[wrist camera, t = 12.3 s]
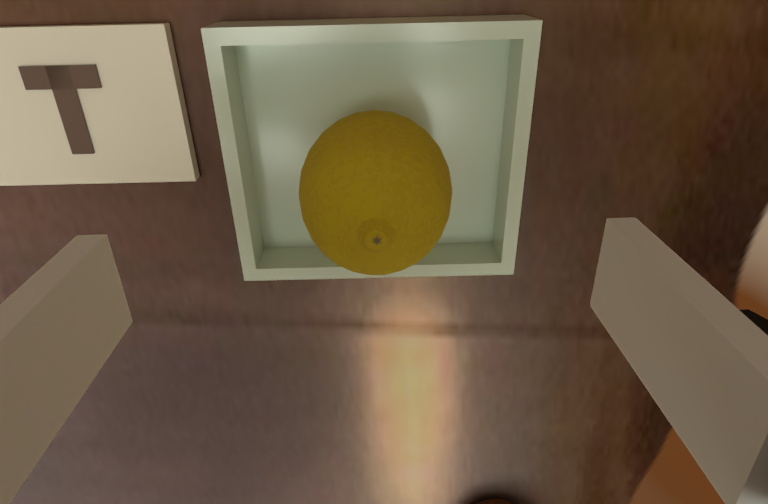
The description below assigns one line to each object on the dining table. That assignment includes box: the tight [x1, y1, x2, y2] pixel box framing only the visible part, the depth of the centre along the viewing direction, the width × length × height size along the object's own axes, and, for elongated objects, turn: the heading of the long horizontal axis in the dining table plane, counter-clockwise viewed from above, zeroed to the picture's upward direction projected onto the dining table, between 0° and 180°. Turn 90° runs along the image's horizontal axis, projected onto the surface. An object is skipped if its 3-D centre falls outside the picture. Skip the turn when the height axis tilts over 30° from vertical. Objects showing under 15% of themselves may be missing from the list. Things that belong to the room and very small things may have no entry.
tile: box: [0, 23, 200, 186], centre depth 22 cm, size 14×6×1 cm, turn 91°
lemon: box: [299, 110, 452, 275], centre depth 19 cm, size 6×6×8 cm
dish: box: [201, 14, 543, 281], centre depth 22 cm, size 12×10×3 cm
